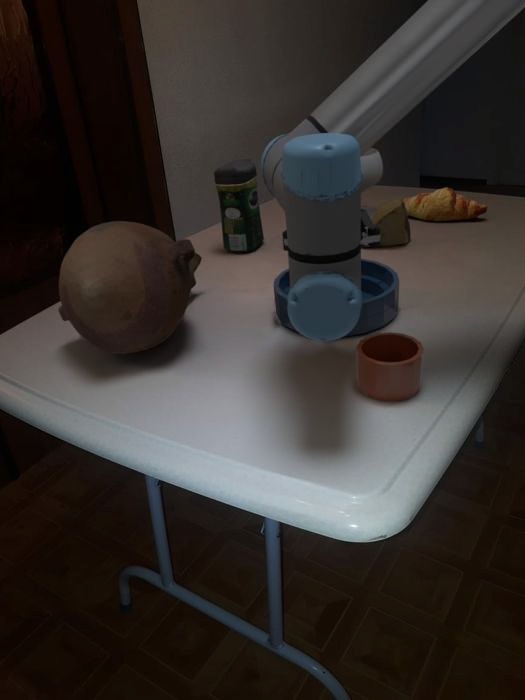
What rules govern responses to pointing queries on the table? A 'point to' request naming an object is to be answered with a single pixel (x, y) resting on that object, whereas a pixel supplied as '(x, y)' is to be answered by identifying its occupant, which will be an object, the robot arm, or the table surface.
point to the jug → (126, 285)
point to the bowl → (376, 297)
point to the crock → (389, 366)
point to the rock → (392, 223)
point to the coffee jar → (239, 205)
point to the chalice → (370, 173)
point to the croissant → (443, 206)
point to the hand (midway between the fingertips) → (334, 205)
